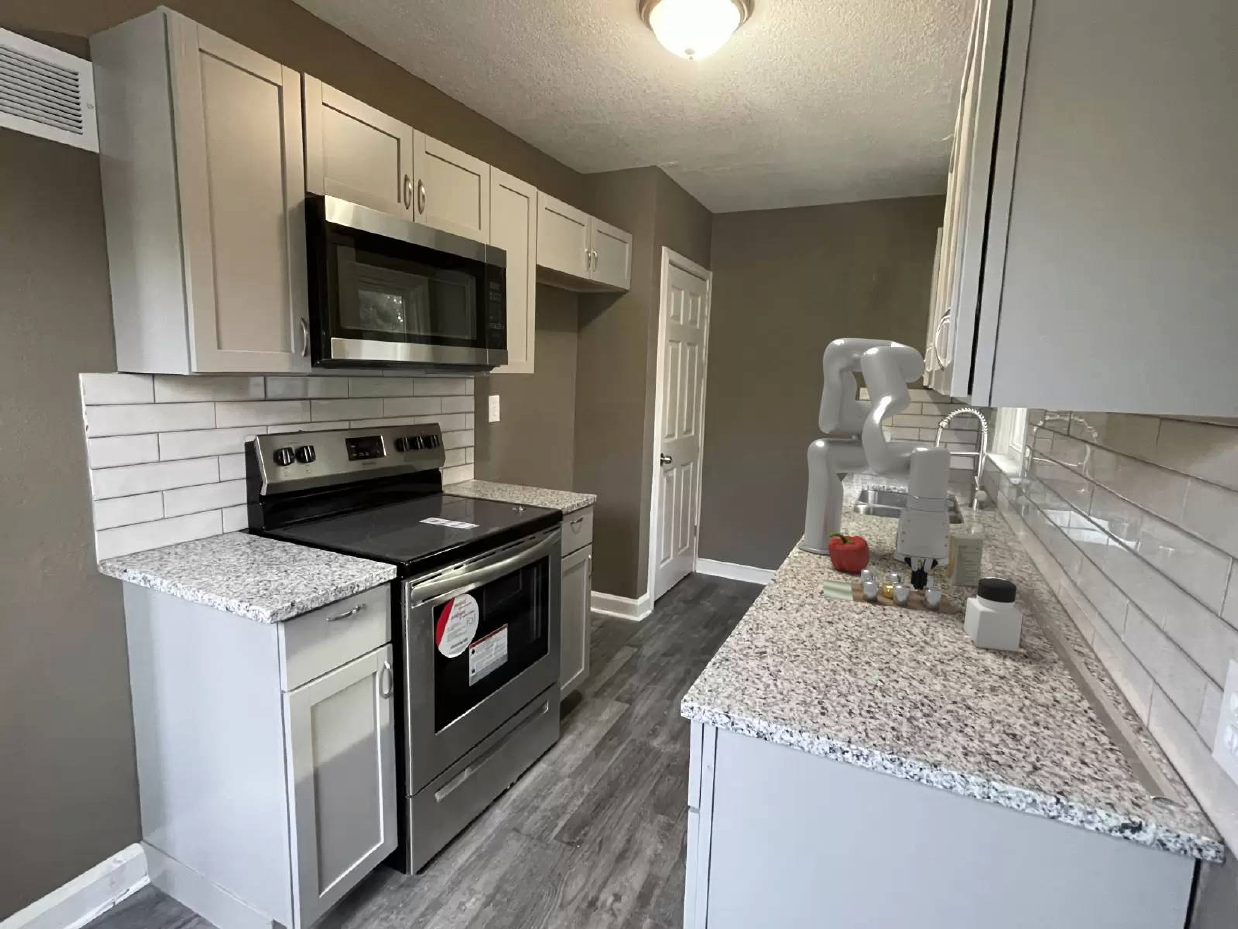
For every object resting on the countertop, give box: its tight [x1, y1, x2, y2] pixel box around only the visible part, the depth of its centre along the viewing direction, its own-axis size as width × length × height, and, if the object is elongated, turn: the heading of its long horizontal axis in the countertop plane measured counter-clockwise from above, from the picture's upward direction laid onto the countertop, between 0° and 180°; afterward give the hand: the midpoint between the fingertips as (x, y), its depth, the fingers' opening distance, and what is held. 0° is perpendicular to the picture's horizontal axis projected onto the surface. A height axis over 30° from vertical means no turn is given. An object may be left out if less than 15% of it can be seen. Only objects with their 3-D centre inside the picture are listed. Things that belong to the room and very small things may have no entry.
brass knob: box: [882, 581, 897, 600], centre depth 137 cm, size 4×4×3 cm
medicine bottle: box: [963, 576, 1024, 653], centre depth 115 cm, size 7×7×12 cm
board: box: [822, 579, 958, 616], centre depth 138 cm, size 13×26×1 cm, turn 72°
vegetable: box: [828, 532, 870, 574], centre depth 157 cm, size 11×10×10 cm
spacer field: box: [859, 567, 942, 611], centre depth 137 cm, size 12×15×4 cm
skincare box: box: [944, 533, 984, 588], centre depth 149 cm, size 6×4×12 cm
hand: (917, 588), depth 135 cm, fingers closed
